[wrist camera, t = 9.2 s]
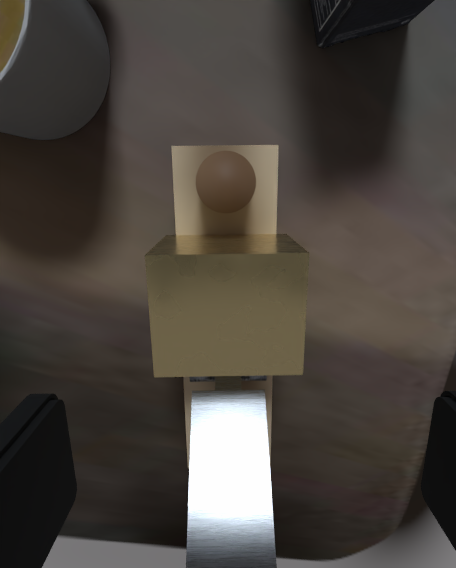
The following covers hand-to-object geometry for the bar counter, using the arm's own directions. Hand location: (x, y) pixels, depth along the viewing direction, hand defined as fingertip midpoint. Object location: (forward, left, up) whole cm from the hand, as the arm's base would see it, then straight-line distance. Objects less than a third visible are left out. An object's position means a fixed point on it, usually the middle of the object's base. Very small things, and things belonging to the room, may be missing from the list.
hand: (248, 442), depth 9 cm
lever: (0, -5, -13) cm, 14 cm away
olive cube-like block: (0, 0, -14) cm, 14 cm away
